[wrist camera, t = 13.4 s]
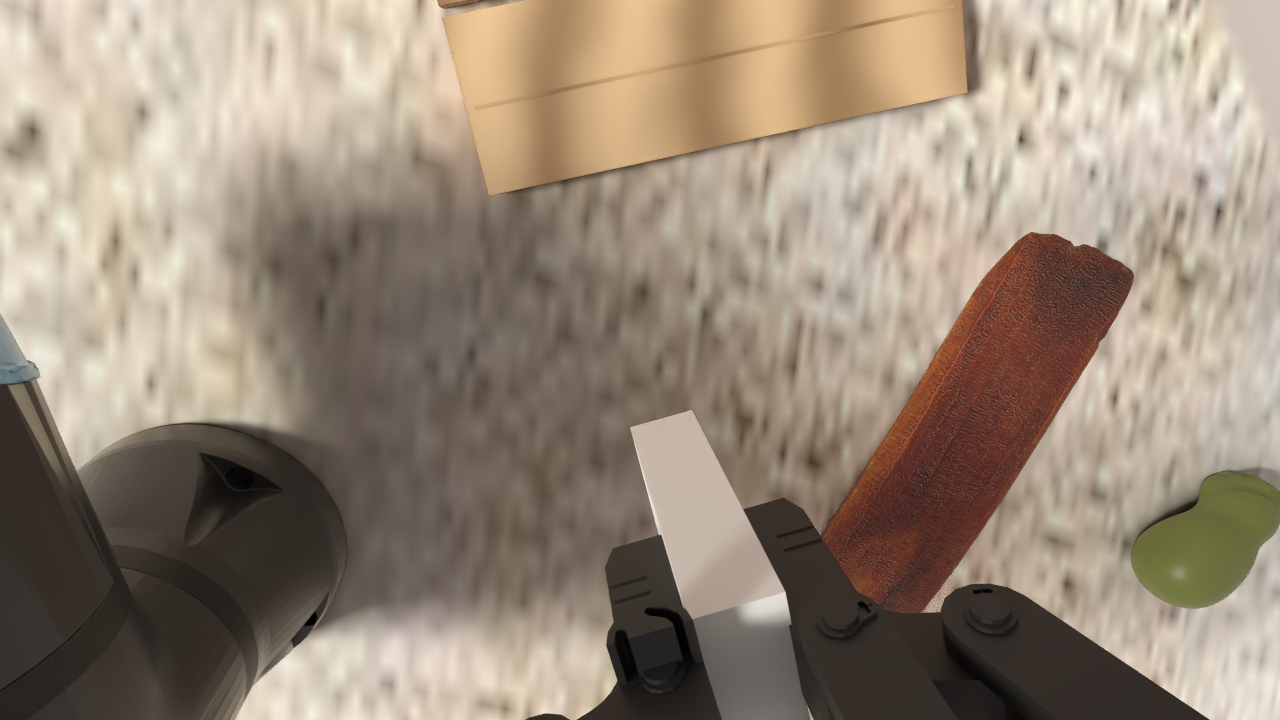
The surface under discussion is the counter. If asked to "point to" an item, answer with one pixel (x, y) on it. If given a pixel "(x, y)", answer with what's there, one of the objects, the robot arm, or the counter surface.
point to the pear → (1208, 541)
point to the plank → (685, 75)
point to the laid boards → (454, 2)
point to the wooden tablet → (975, 418)
